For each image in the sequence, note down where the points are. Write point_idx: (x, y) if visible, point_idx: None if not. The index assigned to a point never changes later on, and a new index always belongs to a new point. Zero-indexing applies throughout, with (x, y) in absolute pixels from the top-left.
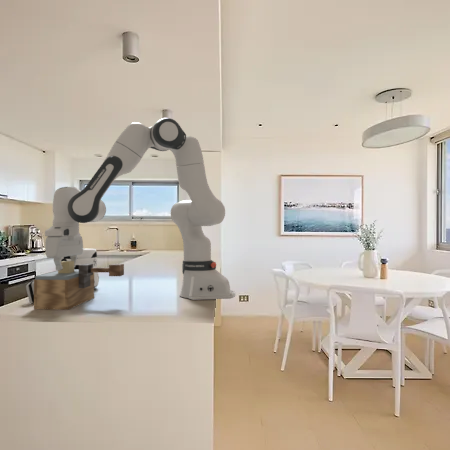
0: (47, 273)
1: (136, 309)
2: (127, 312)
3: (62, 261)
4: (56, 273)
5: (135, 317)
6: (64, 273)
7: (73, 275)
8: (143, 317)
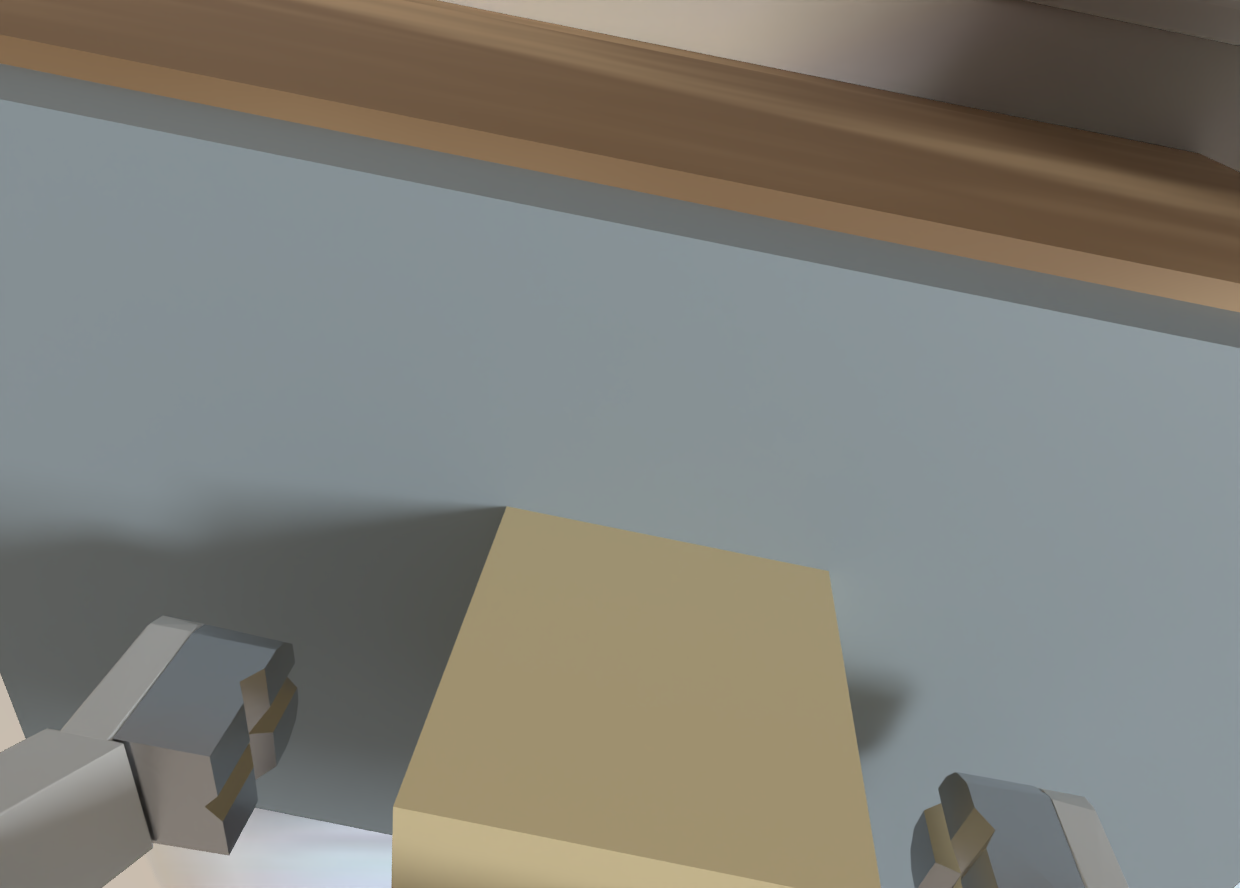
0: (453, 212)
1: (368, 865)
2: (272, 826)
3: (707, 886)
4: (450, 482)
5: (153, 857)
6: (448, 650)
7: (270, 794)
8: (164, 884)
